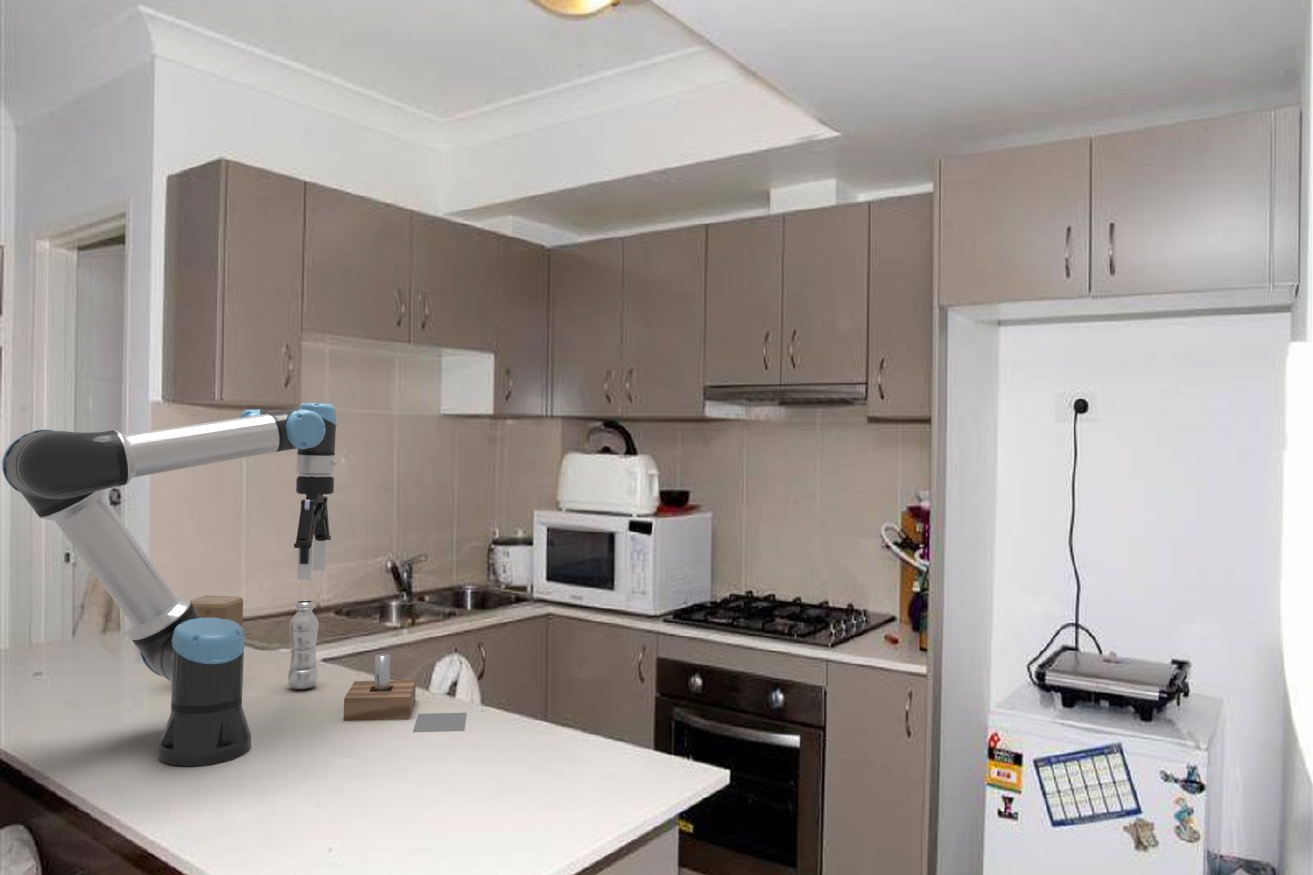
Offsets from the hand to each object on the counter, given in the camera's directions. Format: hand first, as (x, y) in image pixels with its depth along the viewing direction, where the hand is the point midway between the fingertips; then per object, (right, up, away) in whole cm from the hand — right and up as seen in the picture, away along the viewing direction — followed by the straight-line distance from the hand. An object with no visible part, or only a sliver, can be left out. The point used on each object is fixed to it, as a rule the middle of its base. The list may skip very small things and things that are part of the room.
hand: (312, 574), depth 191 cm
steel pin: (+15, -29, -1) cm, 33 cm away
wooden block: (-29, -28, +15) cm, 44 cm away
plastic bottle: (-8, -29, +15) cm, 33 cm away
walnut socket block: (+15, -29, -1) cm, 33 cm away
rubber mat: (+29, -29, -8) cm, 42 cm away
